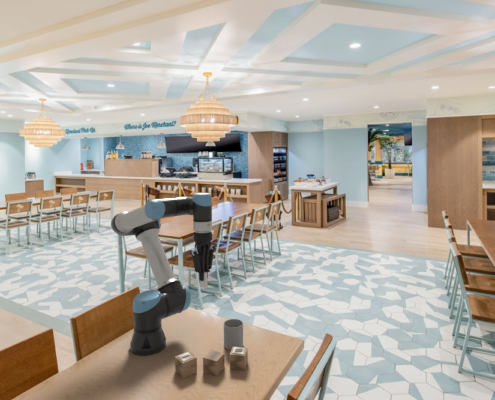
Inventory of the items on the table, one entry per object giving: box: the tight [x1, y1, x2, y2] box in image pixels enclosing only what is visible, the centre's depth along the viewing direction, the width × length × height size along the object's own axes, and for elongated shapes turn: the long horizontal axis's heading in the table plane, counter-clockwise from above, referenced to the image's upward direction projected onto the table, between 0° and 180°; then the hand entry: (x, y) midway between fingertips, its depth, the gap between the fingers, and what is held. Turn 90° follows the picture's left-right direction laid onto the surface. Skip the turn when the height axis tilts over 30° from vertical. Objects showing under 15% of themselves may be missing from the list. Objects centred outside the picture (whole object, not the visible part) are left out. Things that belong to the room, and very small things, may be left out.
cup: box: [223, 318, 244, 351], centre depth 150 cm, size 8×8×10 cm
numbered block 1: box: [174, 350, 198, 379], centre depth 131 cm, size 6×6×6 cm
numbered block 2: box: [229, 346, 249, 371], centre depth 135 cm, size 6×6×6 cm
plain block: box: [202, 349, 226, 377], centre depth 132 cm, size 6×6×6 cm
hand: (203, 287), depth 142 cm, fingers closed
